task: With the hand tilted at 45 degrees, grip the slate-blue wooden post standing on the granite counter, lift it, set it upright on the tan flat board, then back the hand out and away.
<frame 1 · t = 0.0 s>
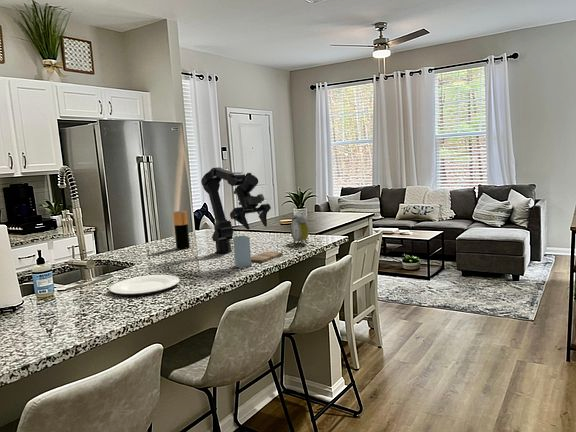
hand: (257, 227, 199), 15 cm above the kitchen island, tool tilted 35°, fingers open, 9 cm apart
tan flat board: (264, 258, 206), on the kitchen island
slate-blue post: (243, 265, 194), on the kitchen island
plate: (145, 288, 168), on the kitchen island
battery: (183, 248, 243), on the kitchen island
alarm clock: (301, 243, 238), on the kitchen island
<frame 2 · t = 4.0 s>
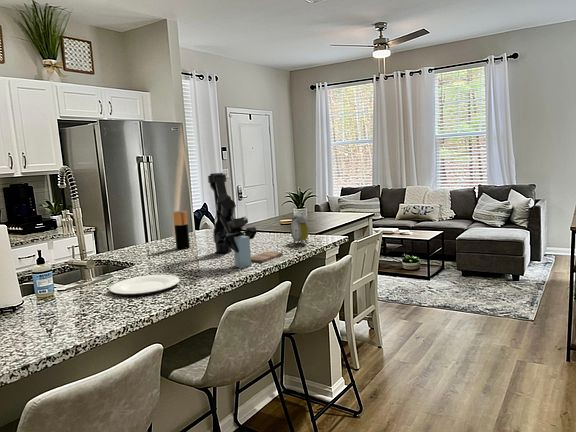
hand: (243, 251, 192), 7 cm above the kitchen island, tool tilted 45°, fingers closed on slate-blue post, 5 cm apart
slate-blue post: (243, 265, 194), on the kitchen island, touching gripper
everything else where it was.
when the fingers open (9 cm above the kitchen island, at t = 9.3 s): slate-blue post drops 1 cm, resting on tan flat board.
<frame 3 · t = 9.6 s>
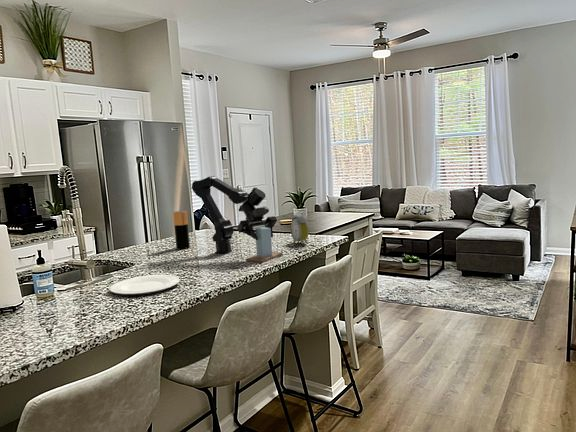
hand: (265, 238, 204), 9 cm above the kitchen island, tool tilted 45°, fingers open, 8 cm apart
slate-blue post: (264, 255, 206), point 1 cm above the kitchen island, touching tan flat board
everything else where it was.
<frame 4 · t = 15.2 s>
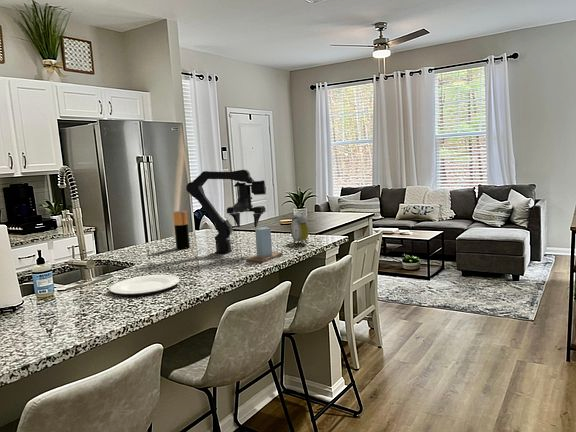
hand: (247, 227, 222), 12 cm above the kitchen island, tool pointing down, fingers open, 9 cm apart
nothing on the kitchen island moved.
at the end: slate-blue post inside the target area on the tan flat board (0.0 cm from its centre), point 1.2 cm above the tan flat board's base; slate-blue post tilted 0°; the gripper is holding nothing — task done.
